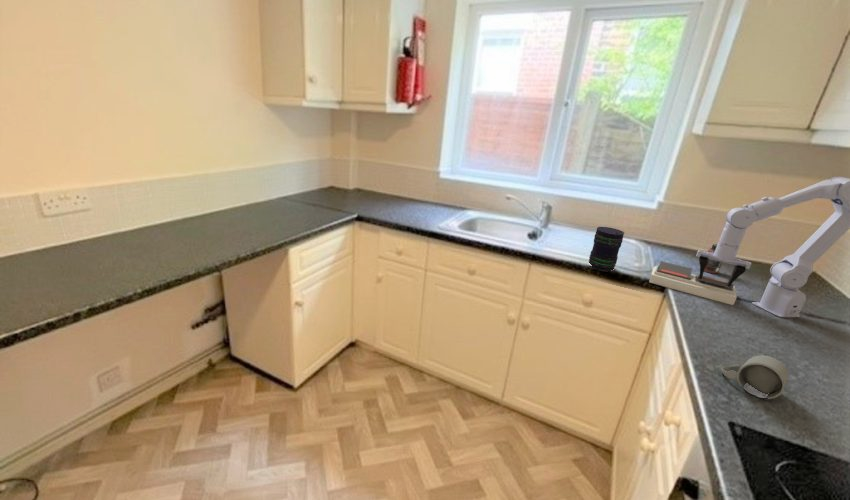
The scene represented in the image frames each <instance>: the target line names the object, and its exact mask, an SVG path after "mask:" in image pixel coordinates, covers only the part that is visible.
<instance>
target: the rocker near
mask: <svg viewBox="0 0 850 500" xmlns="http://www.w3.org/2000/svg"><path fill="white" fill-rule="evenodd" d="M696 275H697V276H696V278H697V279H699V275H700V273H699V274H698V273H697V274H696ZM699 280H703V281H707V282H711V283H715V284H719V285H723V286H726V287H729V286H727V285H728V281H726V280H723V279H718V278H714V277H710V276H706V275H703V276H702V279H699ZM733 286H734V287H735V284H734V283H732V284H731V286H730V288H733Z"/></svg>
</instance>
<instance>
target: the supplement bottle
mask: <svg viewBox="0 0 850 500" xmlns="http://www.w3.org/2000/svg"><path fill="white" fill-rule="evenodd" d="M717 244H718V243H713V244H712V246H711V248H708V249H707V251H706V252H711V253H714V252H715V250H716V247H717ZM722 265H723V262H719V261H715V260H711V259H708V263H707V265H706V267H705V269H704V272H706V273H708V274H715V275H716V274H718V273H719V272H720V270H721V267H722Z"/></svg>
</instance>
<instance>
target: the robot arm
mask: <svg viewBox="0 0 850 500" xmlns="http://www.w3.org/2000/svg"><path fill="white" fill-rule="evenodd" d="M760 199H761V200H759V201H756V202H755V201H754V202H753V203H750V204H747V203H746V204H742V207H733V208H731V209H730V210H729V211H728V212H727V213H725V221H726V222H725V225H724V226H723V229H722V232H721V235H720V236H719V239H718V242H717V243H716V244H717V247H716V250H715V252H714V253H711V252H707V251H704V250H700V249H698V250H697V252H696V257H698V261H699V270H700V271H699V279H702V276H704V272H705V271H704V269H705V267H706V265H707V263H708V259H711V260H715V261H719V262H722V264H723V263H724V264H728V265H732V266H734V267H733V271H732V273H731V276H730V277H729V279H728V281H727V282H728V285H727V286H729V287H730V286H731V284H734V282H735V281H736V280H737V279H738V278H739V277H740V276H741V275H742V274H744V273H745V272H746V271H747V270H750V269H751V266H752V262H751V261H747V260H743V259H740V258H737V254H738V252H739V249H740V246H741V244H742V242H743V239H744V237H745V235H746V231H747V229H748V228H749V227H751V226H752V225H753V224H754V222H755V223H756V222H759V221H762V220H765V219H768V218H771V217H774V216H777V215H780V214H781V213H782V212H783V210H784V209H785V208H789V207H792V206H795V205H799V204H802V203H805V202H809V201H812V200H816V199H823V200H825V199H826V200H830V201H831V202H832V206H833V209H834V212H833V213H832V214H831V215H830V216H829V217H828V218H827V219H826V220H825V222H823V223H822V225H820V226H819V228H818V229H817V230H816V231H815V232H814V233H813V234H811V236H810V237H808V239H807V240H805V242H804V243H803V244H802V245H801V246H800V247H799V248H797V250H796V251H795V252H793V254H789V255H786V256H785V257H783V258H782V259H781V260H779V261H777V262H774V263H773V264H772V265H771V267H770V269H769V273H770V276H771V277H770V278H769V280H768V283H767V285H766V288H765V290H764V292H763V295H762V297H761V299H760V301H753V302H751V304H753V305H754V306H757V307H758V308H761V309H762V310H765V311H766V312H769V313H771V314H773V315H775V316H777V317H779V318H800V316H801V315H800V313H801V311H802V309H803V307H804V304H805V302H806V300H807V295H806V294H805V292H802V291H800V290H799V289H800V288H802V287H803V286H805V285H806V284H807V281H808V279H809V277H810V275H812V273H813V268H814V264H815V263H816V262H817V261H818V260H820V258H821V257H822V256H823V255H824V254H826V252H827V251H829V249H831V247H832V246H834V244H836V242H837V241H838V240H839V239H840V238H841V237H843V236H844V235H845V234H846V233H847V232H848V231H849V230H850V178H848V177H846V176H834V177H832V178H830V179H824V180H821V181H819V182H817V183H815V184H811V185H809V186H806V187H805V188H802V189H799V190H797V191H795V192H791V193H789V194H787V195H784V196H781V197H779V198H776V197H774V196H771V197H767V196H764V197H761V198H760Z"/></svg>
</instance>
